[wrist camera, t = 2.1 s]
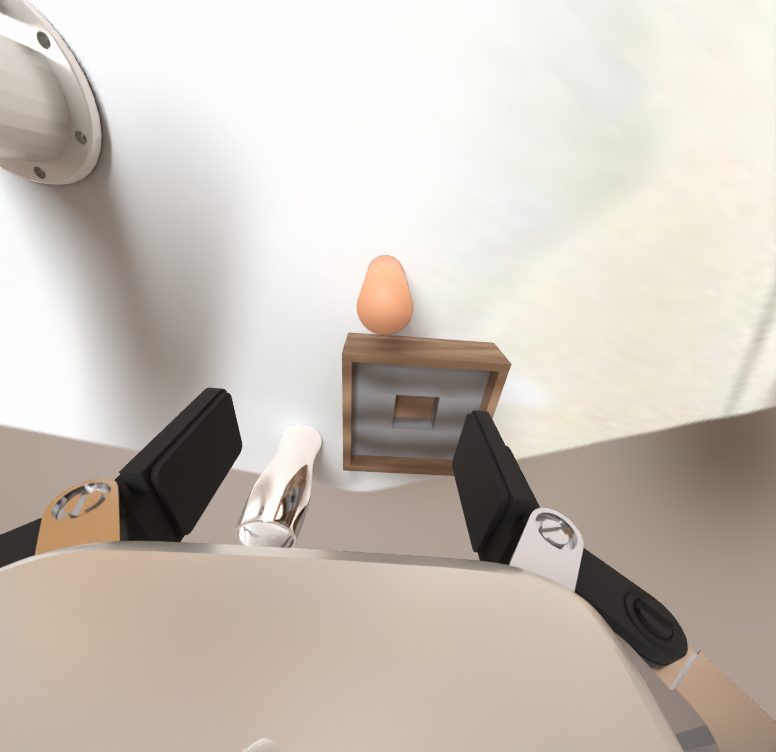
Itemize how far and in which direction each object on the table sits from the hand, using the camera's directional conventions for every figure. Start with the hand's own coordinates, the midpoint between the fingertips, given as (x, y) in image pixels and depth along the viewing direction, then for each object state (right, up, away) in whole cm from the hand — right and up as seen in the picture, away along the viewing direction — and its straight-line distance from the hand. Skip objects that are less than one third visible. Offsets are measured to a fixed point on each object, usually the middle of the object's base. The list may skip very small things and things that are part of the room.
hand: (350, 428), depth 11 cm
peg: (+1, +13, +19) cm, 23 cm away
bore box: (+5, -1, +27) cm, 28 cm away
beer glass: (-12, -7, +31) cm, 34 cm away
